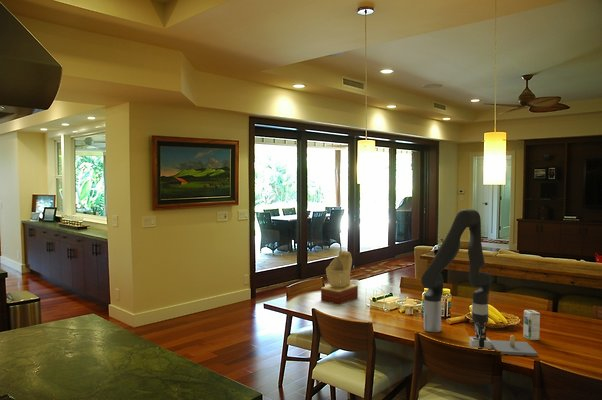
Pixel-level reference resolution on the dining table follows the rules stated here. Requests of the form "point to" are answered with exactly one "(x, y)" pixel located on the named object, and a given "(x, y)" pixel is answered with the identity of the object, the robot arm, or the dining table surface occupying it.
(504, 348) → the board
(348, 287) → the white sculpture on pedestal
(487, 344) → the steel link
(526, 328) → the syrup box
